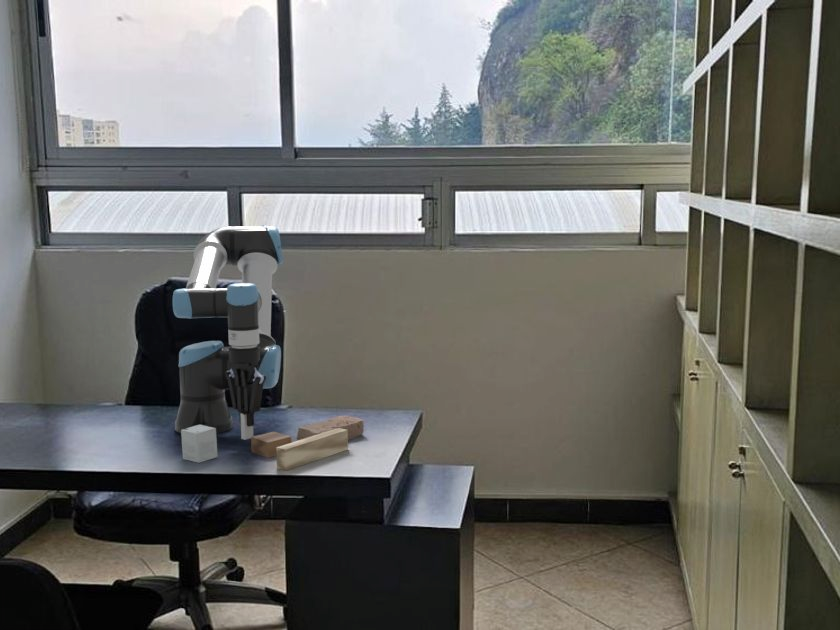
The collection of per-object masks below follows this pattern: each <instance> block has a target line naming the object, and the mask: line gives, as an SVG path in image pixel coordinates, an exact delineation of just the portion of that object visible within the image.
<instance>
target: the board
mask: <svg viewBox="0 0 840 630" xmlns="http://www.w3.org/2000/svg"><path fill="white" fill-rule="evenodd" d="M291 442H292V443H289V444H286V445H282V446H279V447H276V453H277V456H276V468H277V469H278V470H282V471H289V470H293V469H295V468H299V467H301V466H303V465H304V466H305V465H306V464H309V463H313V462H315V461H318V460H321V459H324V458H327V457H329V456H333V455H336V454H339V453H342V452H344V451H348V450H349V440H348V430H346V429H342V428H337V429H334V430H330V431H327V432H324V433H321V434H318V435H314V436H311V437H308V438H305V439H302V440H298V441H297V440H296V441H291Z"/></svg>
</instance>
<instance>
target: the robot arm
mask: <svg viewBox="0 0 840 630" xmlns="http://www.w3.org/2000/svg"><path fill="white" fill-rule="evenodd" d="M193 260H194V262H193V266H192V268H191V271H190V274H189V277H188V280H187V283H186V285H185V286H186V287H185V288H178V289H175V290H174V291H173V295H172V311H173V314H174V316H175V317H176V318H179V319H202V318H203V319H205V318H206V319H208V318H227V325H228V326H227V329H228V330H227V331H228V345H229V346H224V345H225V344H224V343H223V341H221V340H208V341H202V342H198V343H197V342H196V343H192V344H189V345H186V346H184V347H183V348H181V349H180V351H179V352H178V364H177V365H178V368H179V369H178V371H179V373H178V374H179V390H180V391H179V392H180V395H179V396H180V403H179V407H178V411H177V416H176V418H175V420H174V426H175V427H174V428H175V429H174V430H175V431H176V433H178V434H181V430H182V429H186V428H189V427H193V426H196V425H204V426H208V427H213V428H216V434H220V433H222V432H223V433H224V432H226V431H229V430H230V429H232V428H233V426H234V425H233V417H232V415H231V414H232V413H231V411H230V408H229V406H228V403H227V400H226V394H225V392H226V391H227V390H228V391H229V393H230V399H231V403H232V404H231V405H232V408H233V410H237V412H238V413H239V414H238V415H239V425H240V431H241V432H240V434H241V436H240V439H241V440H249V439H250V440H251V437H253V436H254V425H255V413H256V412H259V411H260V410H261V405H262V404H261V403H262V399H263V398H262V397H263V391H264V389H272V388H274V387H276V385H277V383H278V381H279V378H280V370H281V362H282V361H281V359H282V348H281V347H280V345H278V344H276V340H275V339H274V338H273V337H272V335H271V334H272V332H271V330H272V327H271V326H272V325H271V324H272V295H273V293H272V292H273V291H272V289H273V275H274V274H275V273H276V272H277V270H278V266H281V265H283V262H284V260H283V250H282V243H281V236H280V231H279V229H278V228H277V227H276V226H274V225H273V226H271V225H259V226H249V225H248V226H245V225H242V226H238V225H237V226H234V225H233V226H232V225H231V226H230V225H229V226H222V227H218V228H216V229H213V230H211V231H210V232H208V233H207V234H205V236H203V237H202V238H201V239H200V240H199V241H198V242H197V244H196V246H195V247H194V251H193ZM226 266H228V267H229V266H235V267H236V266H237V269H238V271H239V272H241V282H239V283H231V284H228V285H227V287H225V288H224V287H223V288H221V287H220V288H218V287H217V285H218V282H219V278H220V274H221V271H222V269H223V268H224V267H226Z"/></svg>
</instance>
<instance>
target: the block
mask: <svg viewBox="0 0 840 630" xmlns="http://www.w3.org/2000/svg"><path fill="white" fill-rule="evenodd" d="M292 442H293V441H292V435H287V434H284V433H281V432H278V431H270V432H266V433H262V434H258V435H253V437H251V438H250V446H251V448H250V449H251V453H254V454H257V455H259V456H263V457H265V458H273V457H277V453H276V447H279V446H282V445H286V444H289V443H292Z"/></svg>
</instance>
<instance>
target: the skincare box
mask: <svg viewBox="0 0 840 630" xmlns="http://www.w3.org/2000/svg"><path fill="white" fill-rule="evenodd" d="M180 435H181V451H182V459H183V460H186V461H189V462H194V463H198V464H199V463H203V462H206V461H209V460H212V459H215V458H218V443H217V442H218V440H217V433H216V428H213V427H208V426H204V425H196V426H193V427H189V428H186V429H182V430H181V433H180Z"/></svg>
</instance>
